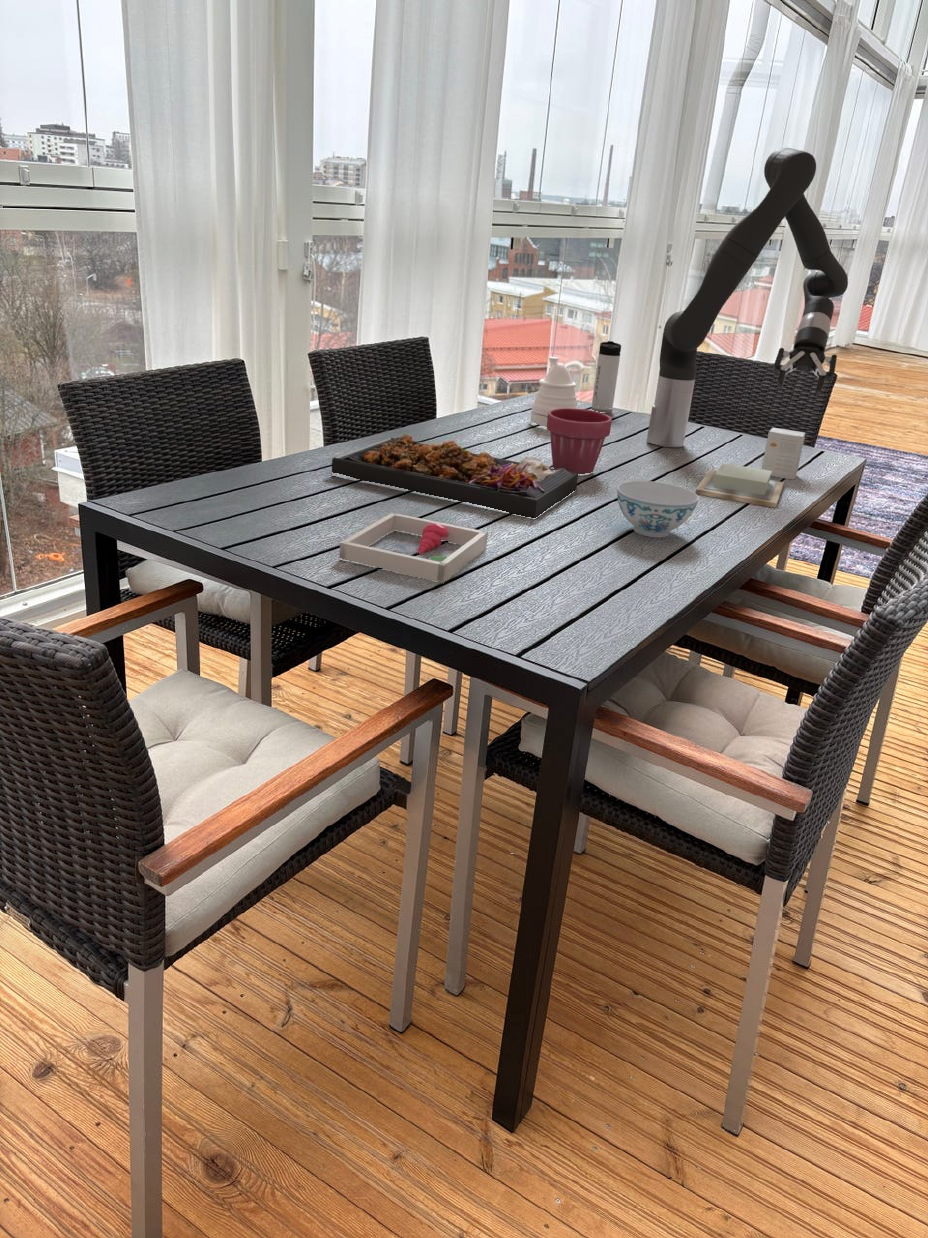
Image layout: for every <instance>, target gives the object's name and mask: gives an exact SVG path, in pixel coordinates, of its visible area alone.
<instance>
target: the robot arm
mask: <svg viewBox="0 0 928 1238" xmlns="http://www.w3.org/2000/svg"><path fill="white" fill-rule="evenodd" d="M763 168H764V169H763V174H764V179H765V181H766V184H767V185H768V187H769V190H768V192H767V193H766V195H765V197H764V198H762V200H761V202H760V203H759V204H758V205H757V206H756V207H755V208H754V209H753V210H751V212H750V213H748V214H747V215H746V216H744V218H742V219H741V220H739V221H738V222H737V223H736V224H735V225H734V226H733V227H732V228H731V229H730V230H729V231H728V233H727V234H726V236H725V237H724V239H723V240H722V241H721V243H720V244H719V246H718V248H717V249H716V251H715V252H714V253H713V256H712V258H711V259H710V262H709V264H708V267H707V269H706V271H705V275H704V276H703V280H702V283H701V285H700V287H699V289H697V290H698V291H697V293H696V294H695V295H694V297H693V298H692V300H691V301H690V302H689V304H688V305H687V306H686V308H685V309H684V310H679V311H677V312H674V313H672V314H671V315H670V316H669V317H668V318H667V320H666V322H665V325H664V327H663V333H662V339H661V346H660V353H659V371H658V379H657V383H656V390H655V396H654V405H652V406H651V411H650V417H649V423H648V429H647V430H648V431H647V436H646V443H648V444H653V445H654V444H655V446H658V445H659V447H665V448H681V447H684V443H685V439H686V432H687V427H688V422H689V418H690V417H689V416H690V411H691V405H692V399H693V394H694V387H695V381H696V376H697V369H698V368H697V351H698V348H699V347H700V346H701V345H702V344H703V342H704V341H705V340H706V338H707V336H708V334H709V332H710V330H711V329H712V327H713V324H714V323H715V321H716V319H717V317H718V316H719V314H720V312H721V310H722V308H724V305H725V304H726V303H727V301H728V300H729V299H730V297H731V296H732V294H733V293H734V292H735V291H736V289H737V288H738V286H739V285H740V283H742V280H744V277H745V276H746V275H747V274H748V272H749V271H750V269H751V267H753V265H754V263H755V262H756V260H757V258H759V256H760V254H761V252H762V250H763V249H764V247H765V246H766V244H768V241H769V240H770V239H771V238H772V236H773V235H774V233H775V232H776V230H777V229H778V227H779V226H780V224H781V222H783V220H784V219H786V222H787V225H788V226H789V230H790V232H791V234H792V237H793V239H794V242H795V246H796V248H797V252H798V256H799V257H800V260H801V263H802V266H803V268H804V269H807V270H811V271H814V272H811V273H809V274H808V275H807V276H806V277H805V279H804V281H803V284H802V286H803V287H802V289H803V295H804V309H803V313H802V315H801V319H800V323H799V324H798V328H797V332H796V335H795V340H794V343H793V347H792V349H791V351H787V350H785V348H784V347H780V348H779V349H778V353H777V355H776V358H775V360H774V364H773V369H772V372H773V373H774V374H778V378H777V386H779V387H778V388H780V389H783V386H784V383H785V378H786V375H788V374H789V373H792V372H793V371H794V370H797V371H805V372H809V373H810V372H811V371H812V373H813V374H814V376H816V377H817V379H818V380H817V384H816V389H815V394H819V393H820V392H822V391H823V389H824V385H825V384H824V383H825V381H830V382H831V381H833V380H834V375H835V371H836V364H837V358H838V355H836V354H832V355H831V356H826V354H825V352H826V348H827V344H828V340H829V337H830V331H831V324H832V319H833V314H834V310H835V305H834V302H833V300H831V298H837V297H841V296H842V295H844V294H845V293H846V291H847V289H848V285H849V278H848V275H847V272H846V271H845V269H844V268H843V266H842V265H841V263H840V262H839V261H838V259H837V258H836V256H835V255H834V254H833V252H832V250H831V248H830V245H829V241H828V238H827V235H826V232H825V229H824V227H823V225H822V223H821V220H820V219H819V218H818V217H817V214H815V212H814V210H813V208H812V206H811V205H810V204H809V202H808V199H807V198H806V196H805V193H806V191H807V190H808V188H809V187H810V186H811V184H812V183H813V180H814V178H815V176H816V172H817V161H816V158H815V157H814V155H812V153H810V152H808V151H804V150H802V149H800V150H799V149H797V148H796V149H795V148H790V147H780V148H778V149H775V150H774V151H772V152H771V153H770V155H769V156H768V157H767V159H766V161H765V163H764V167H763ZM787 358H788V359H789V360H787V362H786V363H785V364H784V365H782V366H781V364H782V362H783V361H784V360H786V359H787ZM824 363H826V365H827V367H829V369H828V371H827V372H826V370H825V369H824V368H823V364H824Z"/></svg>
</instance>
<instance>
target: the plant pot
mask: <svg viewBox="0 0 928 1238" xmlns="http://www.w3.org/2000/svg"><path fill="white" fill-rule="evenodd" d="M612 421H613V420H612V417H611V416H610V415H607V414H603V413H600V412H596V411H592V410H591V409H584V408H579V409H575V408H560V409H553V410H551V411H549V412H548V419H547V429H548V430H547V431H549V435H550V436H549V439H550V449H551V452H550V453H551V459H552V460H551V461H552V468H554V469H560V468H564V469H565V470H567V471H568V472H573V473H577V474H585V473H591V472H593V473H594V470H595V467H596V464H597V462H598V459H599V456H600V454H601V451H602V448H603V446H604V443H605V439H606V438H607V437H609V436H610V434H611V429H612Z"/></svg>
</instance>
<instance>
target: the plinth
mask: <svg viewBox="0 0 928 1238" xmlns="http://www.w3.org/2000/svg"><path fill="white" fill-rule="evenodd" d="M716 471H717V472H716V474H715V478H714V483H713V487H718V488H724V489H730V490H736V491H741V492H747V493H753V494H758V495H765V492H766V490H767V487H768V485H769V482H770V480H771V477H772V476H771V473H772V471H769V470H762V469H760V468H757V467H756V468H755V467H749V466H743V465H738V464H737V465H736V464H731V463H727V462H726V463H725V462H721V464H720V466H719V467H718V469H717V470H716Z"/></svg>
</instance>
